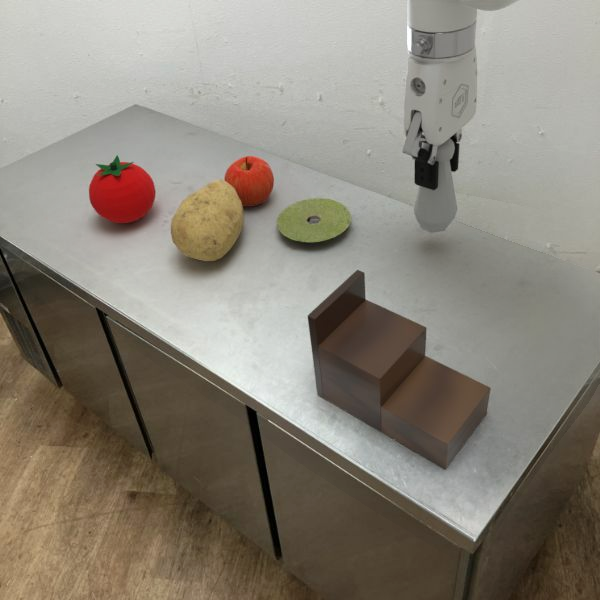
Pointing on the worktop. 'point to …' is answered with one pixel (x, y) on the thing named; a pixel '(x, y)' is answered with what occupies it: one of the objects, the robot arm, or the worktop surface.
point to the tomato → (121, 191)
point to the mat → (314, 220)
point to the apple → (250, 180)
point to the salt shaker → (438, 194)
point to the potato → (208, 222)
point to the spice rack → (391, 375)
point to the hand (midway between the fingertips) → (436, 176)
